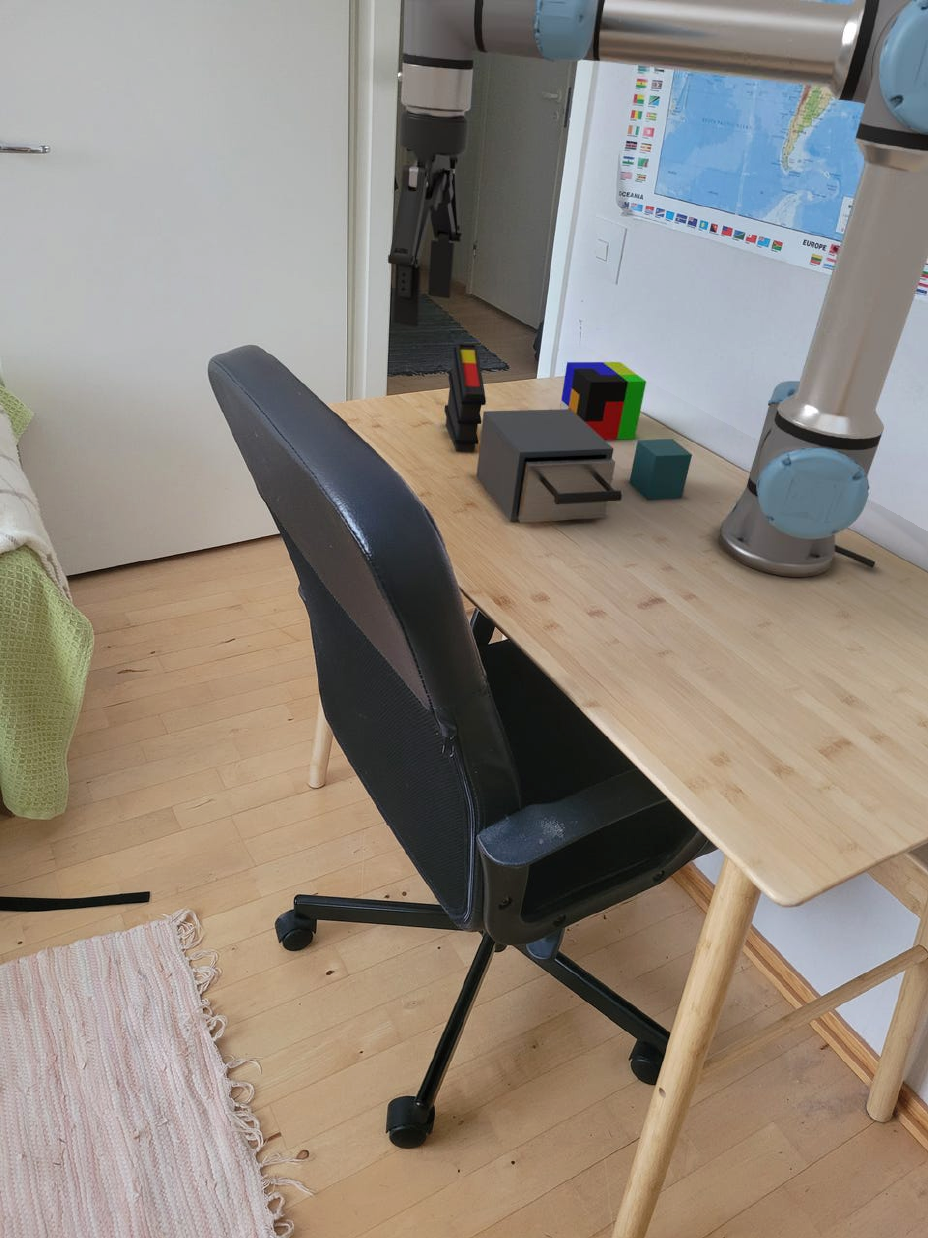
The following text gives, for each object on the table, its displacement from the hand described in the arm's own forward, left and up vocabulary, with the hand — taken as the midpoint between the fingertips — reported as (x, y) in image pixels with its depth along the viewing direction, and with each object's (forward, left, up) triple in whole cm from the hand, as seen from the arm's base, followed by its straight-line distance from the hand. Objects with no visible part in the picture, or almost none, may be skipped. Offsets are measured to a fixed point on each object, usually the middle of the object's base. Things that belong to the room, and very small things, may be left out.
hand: (423, 309), depth 115 cm
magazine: (+1, -29, -28) cm, 40 cm away
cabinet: (-15, -15, -28) cm, 35 cm away
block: (-31, -26, -28) cm, 49 cm away
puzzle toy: (-18, -47, -28) cm, 57 cm away
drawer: (-18, -10, -27) cm, 34 cm away
